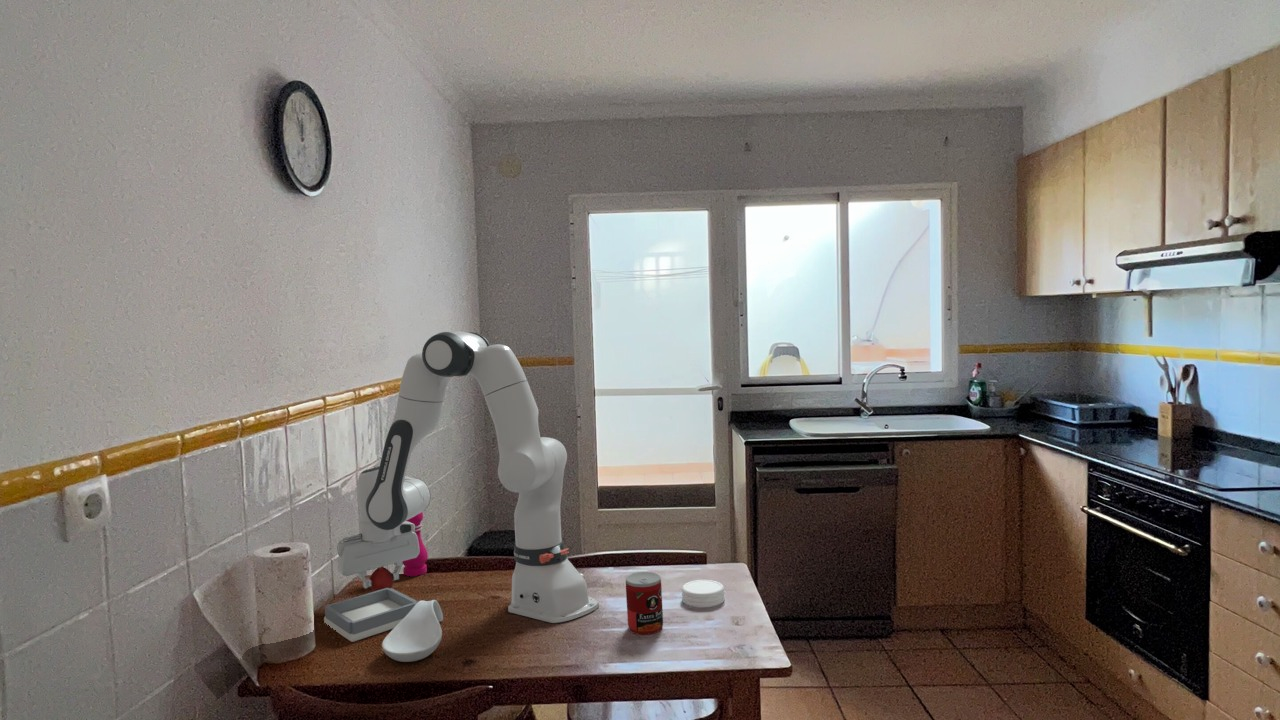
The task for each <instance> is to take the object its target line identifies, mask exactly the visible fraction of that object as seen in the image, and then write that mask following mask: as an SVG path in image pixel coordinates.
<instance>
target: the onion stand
mask: <svg viewBox="0 0 1280 720" xmlns="http://www.w3.org/2000/svg"><path fill="white" fill-rule="evenodd" d="M418 602H419V600H416V599H414V598H412V597H410V596H408V595H407V594H405V593H402V592H401V591H398V590H396V589H394V588H392V587H391V588H390V589H389V588H385V589H381V590H378V591H372V592H368V593H364V594H360V595H358V596H354V597H351V598H347V599H343V600H340V601H337V602H333V603H331V604H326V605H325V606H324V611H325V612H324V613H325V616H324V617H323V621H324V624H325V623H326V624H327V626H328V625H329V626H330V627H329V626H328V627H329V628H331V629H332V628H333V629H332V630H333V631H335V630H336V631H335V632H336V633H338V634H339V635H341V636H342V637H343V638H345V639H347V640H348V641H350V642H351V643H353V642H357V641H359V640H363V639H366V638H369V637H371V636H374V635H378V634H380V633H384V632H387V631H390V630H393V629H394V628H395V627H396V626H397V625H398V624H399V623H400V622H401V621H402V619H403V618H404V617H405V616H406V615H407V614H408V613H409V612H410V611H411V610H412V608H413V607H414V606H415V605H416V604H417V603H418ZM326 624H325V625H326Z"/></svg>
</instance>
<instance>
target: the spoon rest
mask: <svg viewBox="0 0 1280 720" xmlns="http://www.w3.org/2000/svg"><path fill="white" fill-rule="evenodd" d="M443 620H444V615H443V611H442V608H441V606H440V604H439V602H438V600H436V599H432V600H428V601H427V600H418V603H417V604H416V605H415V606H414V607H413V608H412V610H411V611H410V612H409V613H408V614H407V615H406V616H405V617H404V618H403V619H402V621H401V622H400V623H399V624H398V625H397V626H396V627H395V628H393V629H391V631H390V632H389V633H388V634H387V635H386V636H385V637H384V639H383V640H382V642H381V649H382V651H383V652H384V653H385V655H386V656H387V657H389V658H391V659H392V660H394V661H396V662H402V663H411V662H413V663H414V662H418V661H421V660H423V659H425V658H427V657H429V656H430V655H431V654H432V653H433V652H435V651H436V649H437V648H438V647H439V645H440V643H441V641H442V638H443V637H442V636H443V631H442V627H441V624H440V623H441V622H443Z"/></svg>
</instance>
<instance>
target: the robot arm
mask: <svg viewBox="0 0 1280 720" xmlns="http://www.w3.org/2000/svg"><path fill="white" fill-rule="evenodd" d="M421 351H422V352H421V353H416V354H414V355H412V356H411V357H409V359H408V360H407V363H406V365H405V366H404V367H405V368H404V371H403V373H402V377H401V381H400V385H399V391H398V397H397V402H396V403H397V404H396V407H395V412H394V416H393V420H392V421H391V422H392V423H391V425H390V428H389V430H388V433H387V435H386V440H385V443H384V446H383V451H382V455H381V459H380V463H379V466H375V467H371V468H367V469H364V470H363V471H362V472H360V473H359V475H358V478H357V483H356V487H357V488H356V496H357V499H356V501H357V506H358V509H359V516H358V527H359V529H358V530H359V533H358V534H355V535H354V534H353V535H352V536H346V537H343V538H342V540H340V541H339V542H338V543H337V545H336V547H337V554H338V557H337V560H338V561H337V568H338V569H337V571H338V572H339V573H340V575H342V576H345V577H348V576H349V577H350V576H352V575H356V574H357V576H358V577H359V579H360V580H361V581H362V588H364V589H369V588H370V587H371V586H372V585H371V580H370V578H366V576H367V575H368V574H367V572H368V571H371V570H374V569H375V570H376V569H377V568H379V567H386V566H390V565H394V570H393V571H392V572H391V574H392V576H393V582H394V581H397V580H400V572H401V570H402V567H403V566H404V565H403V563H402V561H405V560H409V559H413V558H416V557H417V556H418V555H419V552H420V551H419V542H418V537H417V535H416V533H415V532H413V531H414V530H415V525H414V524H413V523H411V522H408V521H406V520H408V519H410V518H412V517H414V516H416V515H418V514H419V513H421V512H422V513H423V512H424V511H425V510H427V508H429V505H430V502H431V490H430V488H429V487H428V485H427V484H426V482H424V481H423V480H422V479H420V478H418V477H411V476H407V475H406V474H407V470H408V465H409V461H410V458H411V455H412V453H413V451H414V449H415V448H416V446H417V445H418V444H419V443H420V442H421V441H422V440H423V439H425V437H427V435H430V433H431V432H433V431H434V430H435V429H436V428H437V426H439V423H440V421H441V417H442V414H443V411H444V406H445V405H444V404H445V400H446V399H445V398H446V397H445V396H446V391H447V386H448V384H449V382H450V380H451V379H452V378H453V377H461V378H462V377H465V376H471V377H473V378H474V379H475V380H476V381H477V383H478V385H479V387H480V389H481V392H482V395H483V397H484V398H483V399H484V400H485V403H486V406H487V409H488V411H489V413H490V417H491V419H492V422H493V425H494V429H495V434H496V438H497V439H496V440H497V448H498V456H499V462H498V465H497V476H498V480H499V482H500V483H501V485H502V486H503V487H504V488H505V489H506V490H508V491H509V492H513V493H517V494H518V499H517V502H516V506H515V508H514V513H513V517H514V536H515V544H514V546H513V555H514V561H515V568H514V570H513V573H512V575H511V576H512V577H511V603H510V604H509V605H508V606H507V611H508V613H511V614H515V615H519V616H522V617H523V616H524V617H527V618H532V619H535V620H539V621H542V622H547V623H551V624H558V623H563V622H567V621H571V620H574V619H578V618H580V617H583V616H586V615H588V614H590V613H592V612H593V611H595V610H597V609H598V608H599V606H600V602H599V601H598V600H596V598H593V597H591V596H590V595H589V591H588V585H587V584H588V583H587V582H586V579H585V575H584V573H581V572H579V571H578V570H577V569H576V567H575V566H574V565H573V563H572V562H571V561H570V560H569V559H568V554H569V553H570V551H569V550H570V549H569V547H566V545H565V542H564V541H563V539H562V524H561V523H562V521H561V503H562V495H563V486H564V476H565V468H566V465H567V461H568V453H567V450H566V447H565V445H564V444H563V443H562V442H561V441H560V440H558V439H556V438H553V437H547V436H546V437H545V436H541V433H540V428H539V427H540V426H539V414H540V412H539V408H538V405H537V402H536V399H535V397H534V395H533V392H532V389H531V386H530V384H529V381H528V378H527V377H526V373H525V372H524V370H523V367H522V365H521V364H520V362H519V360H518V358H517V356H516V355H515V353H514V351H513V350H512V349H511V347H509V346H507V345H505V344H499V343H497V344H491V343H490V342H489V340H488V339H487V338H486V337H485V336H483V335H481V334H480V333H477V332H467V331H462V330H454V331H453V330H452V331H441V332H438V333H436V334H434V335H432V336H431V337H430V338H428V339H427V340H426V341H425V343H424V345H423V347H422V350H421Z"/></svg>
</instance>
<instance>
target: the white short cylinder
mask: <svg viewBox="0 0 1280 720" xmlns="http://www.w3.org/2000/svg"><path fill="white" fill-rule="evenodd" d="M681 596H682V597H681V600H682V603H684V605H686V606H689V607H692V608H698V609H699V608H700V609H701V608H702V609H703V608H705V609H707V608H714V607H717V606H719V605H721V604H723V603H724V602H725V598H726V597H725V587H724V585H723V584H722V583H721V582H719V581H715V580H711V579H696V580H690V581H688V582H686V583H684V584H683V585H682V586H681Z"/></svg>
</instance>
